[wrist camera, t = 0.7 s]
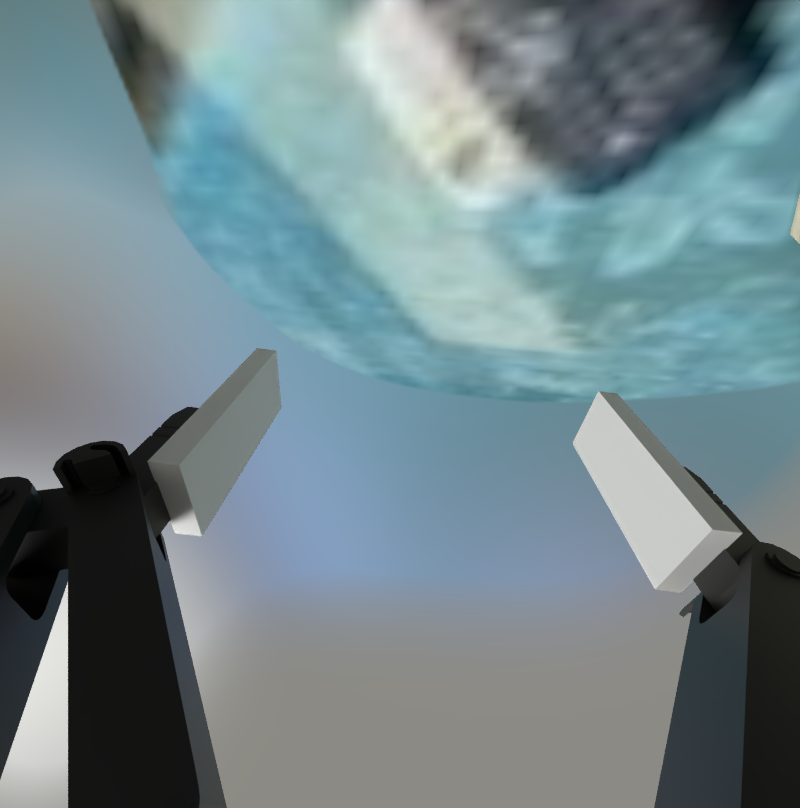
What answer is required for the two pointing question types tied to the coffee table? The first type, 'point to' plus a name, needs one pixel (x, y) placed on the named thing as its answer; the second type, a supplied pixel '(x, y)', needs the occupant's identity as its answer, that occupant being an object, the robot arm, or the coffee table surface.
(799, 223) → the pedestal
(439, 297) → the coffee table surface
